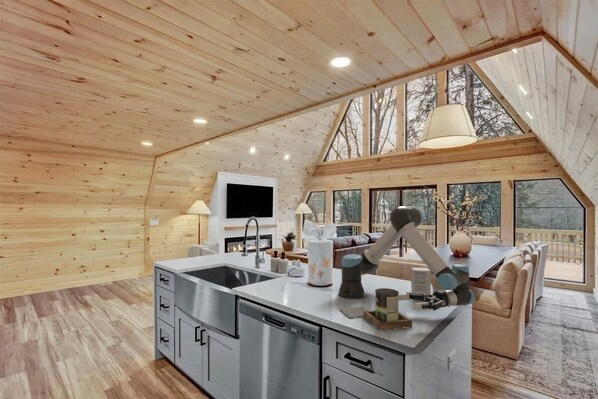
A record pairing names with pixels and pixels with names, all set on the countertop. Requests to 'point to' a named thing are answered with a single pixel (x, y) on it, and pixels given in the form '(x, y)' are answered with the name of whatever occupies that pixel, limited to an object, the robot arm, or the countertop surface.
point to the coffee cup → (435, 283)
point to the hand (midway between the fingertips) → (405, 302)
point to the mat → (353, 311)
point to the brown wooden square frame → (387, 325)
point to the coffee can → (386, 304)
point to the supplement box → (420, 280)
